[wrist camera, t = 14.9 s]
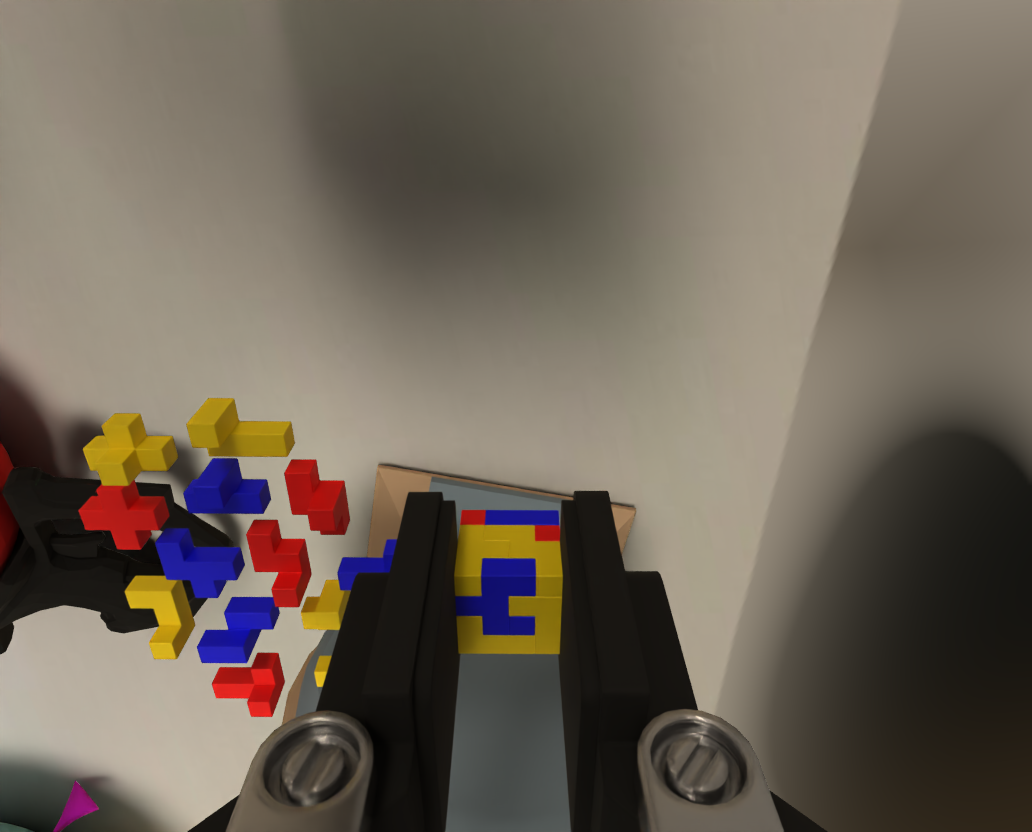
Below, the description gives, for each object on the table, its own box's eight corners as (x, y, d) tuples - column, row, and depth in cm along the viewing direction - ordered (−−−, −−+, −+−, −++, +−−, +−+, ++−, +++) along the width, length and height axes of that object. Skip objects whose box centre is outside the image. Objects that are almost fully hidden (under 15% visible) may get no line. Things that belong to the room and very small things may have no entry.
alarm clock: (340, 616, 37) (202, 1040, 21) (356, 460, 32) (195, 851, 17) (605, 656, 38) (660, 1087, 22) (656, 511, 33) (770, 923, 18)
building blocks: (56, 397, 11) (-16, 453, 10) (562, 398, 11) (568, 456, 10) (158, 680, 14) (116, 755, 13) (552, 683, 14) (555, 759, 13)
